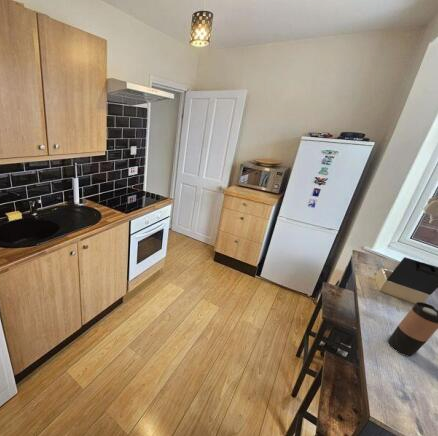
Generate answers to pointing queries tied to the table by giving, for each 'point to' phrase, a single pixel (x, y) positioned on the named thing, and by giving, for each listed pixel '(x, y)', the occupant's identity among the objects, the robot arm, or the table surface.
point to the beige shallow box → (398, 288)
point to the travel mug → (415, 329)
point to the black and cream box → (415, 275)
